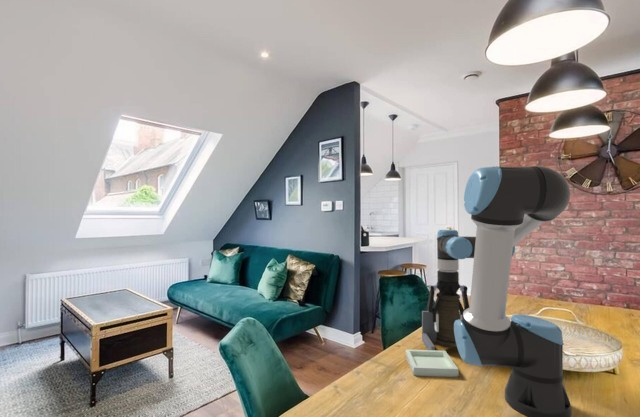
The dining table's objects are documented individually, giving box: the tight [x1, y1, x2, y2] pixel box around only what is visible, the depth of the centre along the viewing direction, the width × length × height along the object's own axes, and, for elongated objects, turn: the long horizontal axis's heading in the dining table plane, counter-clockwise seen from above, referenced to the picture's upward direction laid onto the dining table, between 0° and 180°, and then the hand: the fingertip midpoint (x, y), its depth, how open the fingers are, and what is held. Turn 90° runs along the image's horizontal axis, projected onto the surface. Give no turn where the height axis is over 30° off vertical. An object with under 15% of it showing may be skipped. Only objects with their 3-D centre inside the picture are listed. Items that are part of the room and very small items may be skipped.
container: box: [435, 292, 461, 348], centre depth 126 cm, size 9×9×18 cm
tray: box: [405, 348, 460, 378], centre depth 113 cm, size 14×14×2 cm
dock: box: [421, 310, 460, 350], centre depth 128 cm, size 15×15×12 cm
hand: (448, 330), depth 126 cm, fingers closed on container, 8 cm apart
